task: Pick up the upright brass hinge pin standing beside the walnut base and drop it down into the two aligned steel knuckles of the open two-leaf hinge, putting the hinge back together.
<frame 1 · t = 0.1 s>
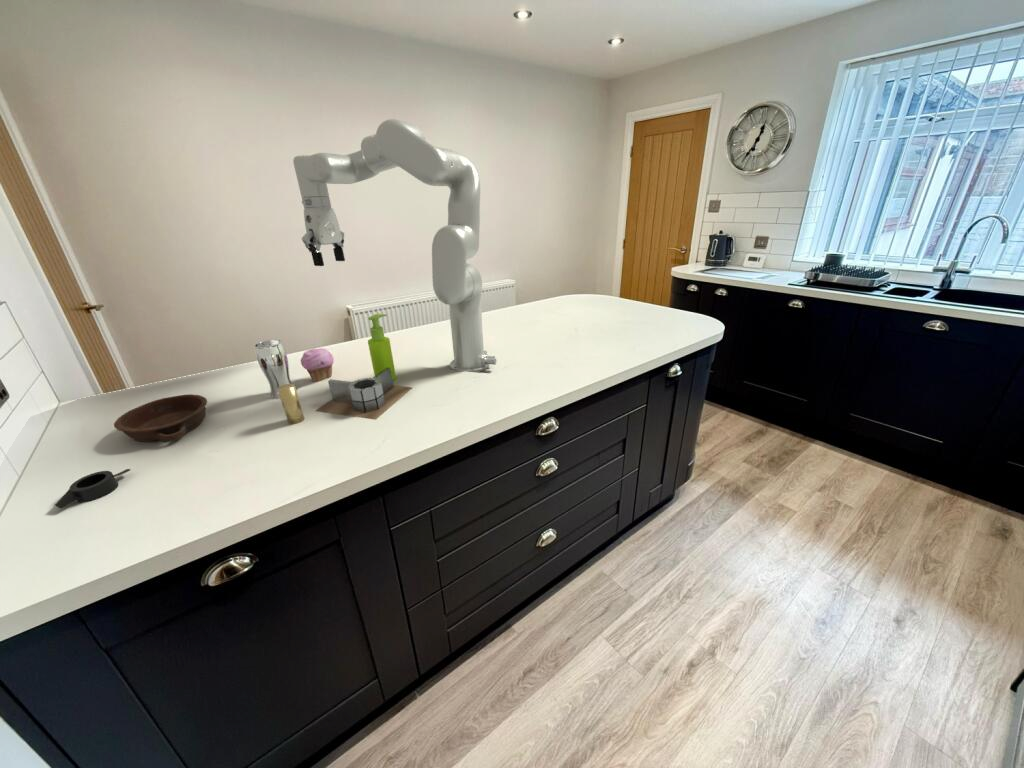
hand: (330, 263, 123), 31 cm above the table, fingers open, 9 cm apart
hinge pin: (297, 423, 95), on the table
dish: (171, 428, 96), on the table
black ring with arms: (99, 493, 75), on the table
hinge base: (370, 408, 101), on the table
cupcake: (322, 380, 118), on the table
hinge: (369, 405, 101), resting on hinge base
beer glass: (283, 393, 111), on the table
soap dispenser: (387, 381, 116), on the table
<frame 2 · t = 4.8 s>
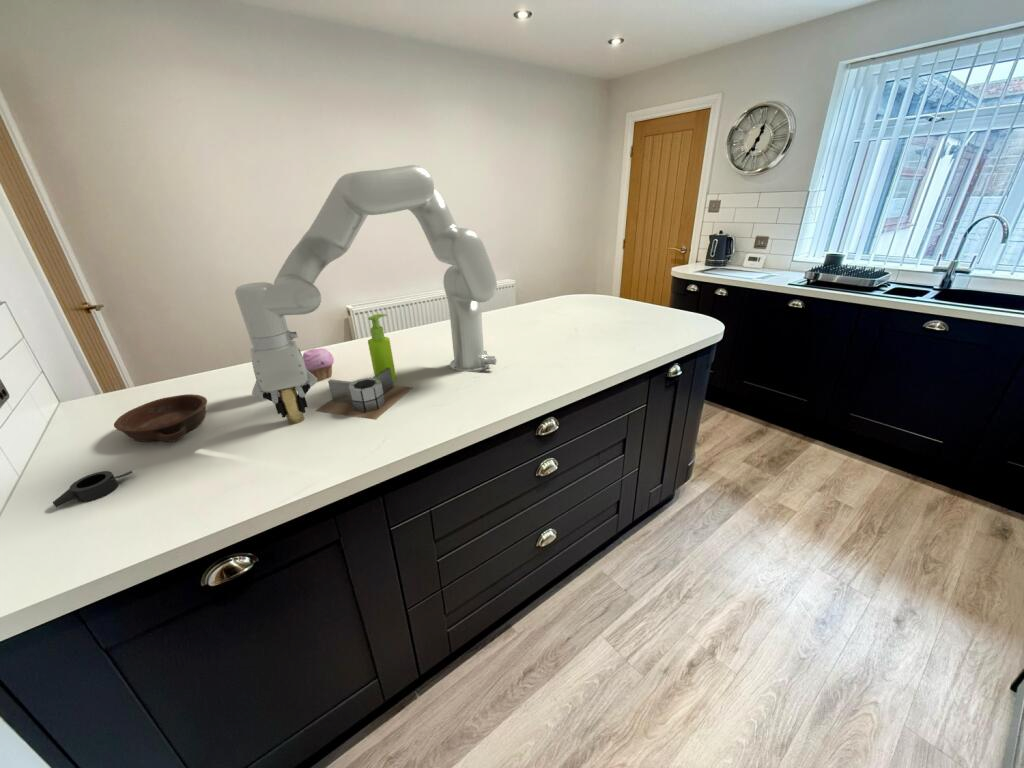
hand: (293, 412, 94), 3 cm above the table, fingers closed on hinge pin, 3 cm apart
hinge pin: (297, 423, 95), on the table, touching gripper
when the fingers open (9 cm above the table, at t = 9.9 s): hinge pin drops 4 cm, resting on hinge base.
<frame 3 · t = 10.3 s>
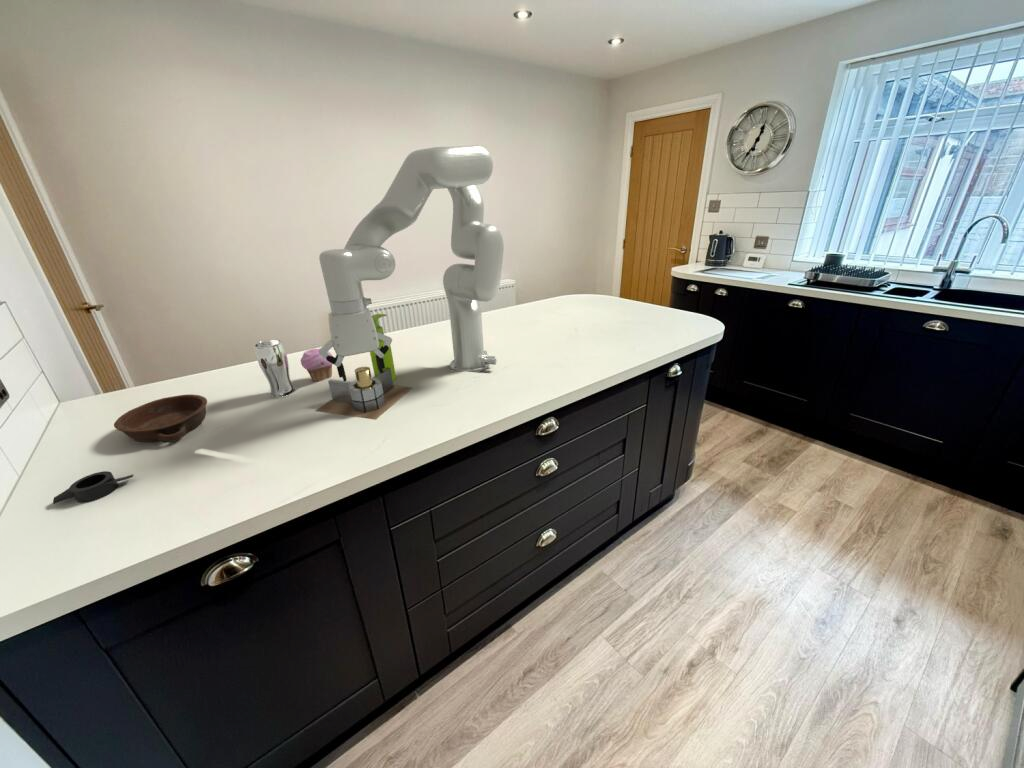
hand: (362, 375, 97), 10 cm above the table, fingers open, 8 cm apart
hinge pin: (369, 404, 101), point 1 cm above the table, touching hinge base
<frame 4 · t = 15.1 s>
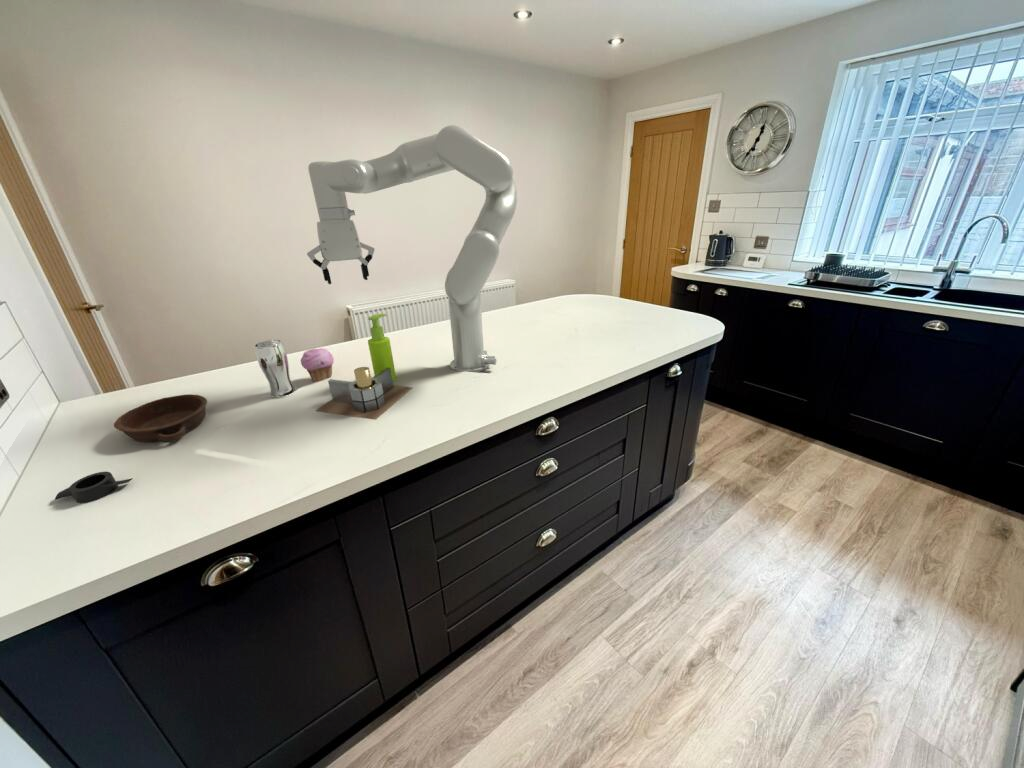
hand: (347, 281, 110), 28 cm above the table, fingers open, 9 cm apart
at the end: hinge pin 0.1 cm off-centre on the hinge, point 0.0 cm above the hinge's base; hinge pin tilted 0°; the gripper is holding nothing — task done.
